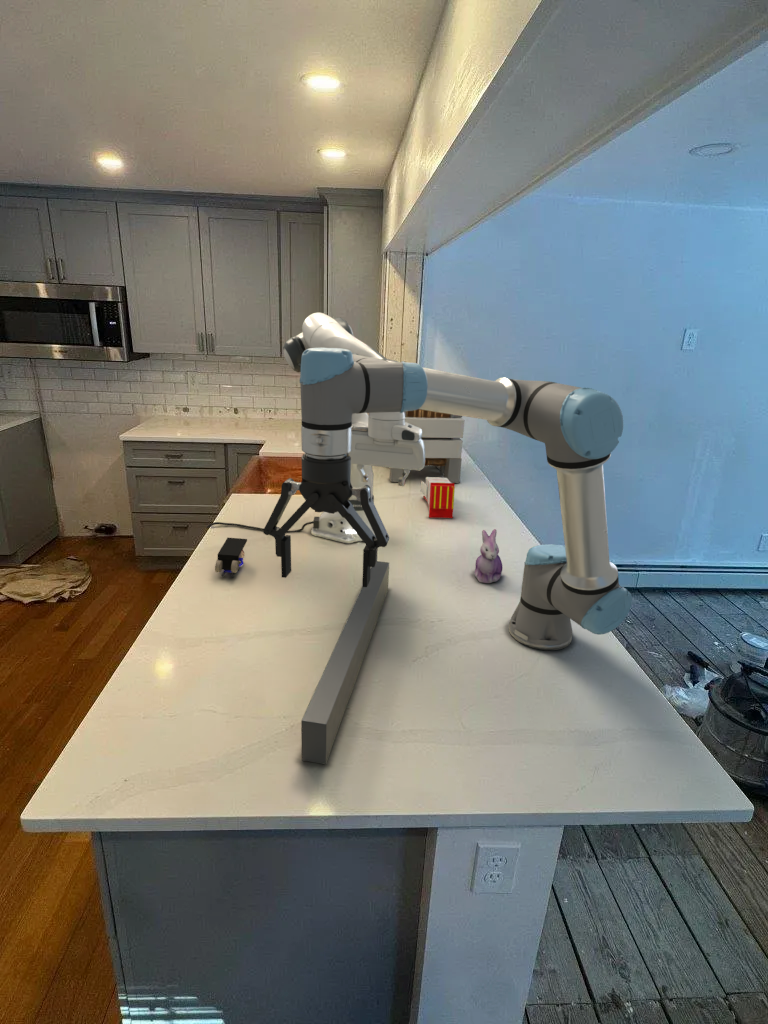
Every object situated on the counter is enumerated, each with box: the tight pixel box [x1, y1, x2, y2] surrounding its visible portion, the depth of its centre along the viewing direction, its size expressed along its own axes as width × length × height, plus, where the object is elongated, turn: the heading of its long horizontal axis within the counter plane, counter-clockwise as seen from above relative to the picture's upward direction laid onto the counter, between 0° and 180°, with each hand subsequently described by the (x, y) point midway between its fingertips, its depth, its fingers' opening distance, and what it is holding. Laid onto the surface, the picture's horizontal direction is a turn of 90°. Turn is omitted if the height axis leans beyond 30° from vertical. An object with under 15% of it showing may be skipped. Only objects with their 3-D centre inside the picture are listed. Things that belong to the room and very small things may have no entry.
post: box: [300, 560, 390, 765], centre depth 128 cm, size 67×4×8 cm, turn 170°
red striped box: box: [419, 476, 456, 519], centre depth 228 cm, size 12×13×30 cm
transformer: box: [388, 409, 465, 484], centre depth 268 cm, size 34×33×41 cm
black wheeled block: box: [214, 537, 248, 578], centre depth 166 cm, size 7×8×15 cm
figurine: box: [474, 528, 503, 584], centre depth 167 cm, size 9×10×15 cm
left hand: (382, 483), depth 142 cm, fingers open, 8 cm apart
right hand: (325, 578), depth 94 cm, fingers open, 13 cm apart
